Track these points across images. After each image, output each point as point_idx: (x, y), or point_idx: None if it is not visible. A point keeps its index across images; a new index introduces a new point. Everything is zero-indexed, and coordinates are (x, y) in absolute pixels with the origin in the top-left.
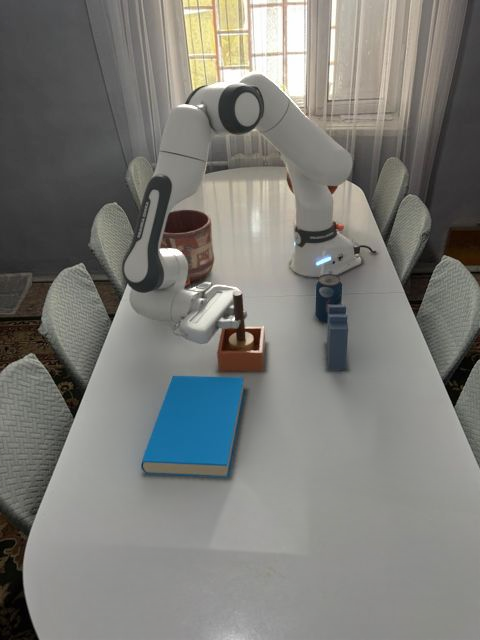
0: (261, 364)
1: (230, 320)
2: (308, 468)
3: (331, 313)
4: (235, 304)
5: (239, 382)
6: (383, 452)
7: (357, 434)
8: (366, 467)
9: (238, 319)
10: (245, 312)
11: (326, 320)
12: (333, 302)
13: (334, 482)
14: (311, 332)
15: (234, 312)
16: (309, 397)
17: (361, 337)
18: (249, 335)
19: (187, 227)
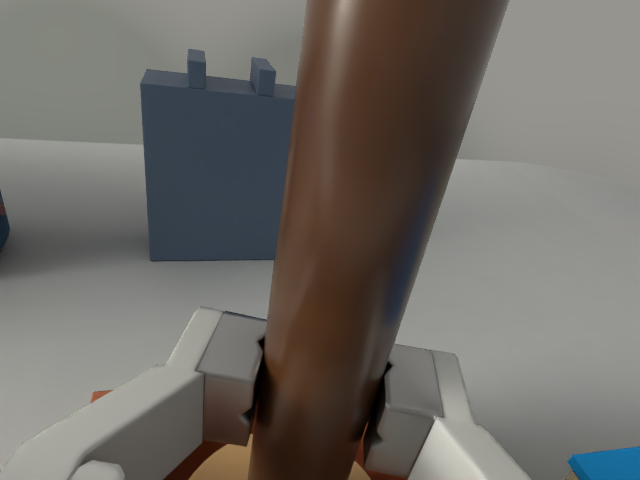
0: None
1: (470, 428)
2: (630, 291)
3: (210, 88)
4: (453, 163)
5: (621, 467)
6: (492, 210)
7: (479, 230)
8: (541, 227)
9: (395, 348)
10: (223, 311)
11: (2, 239)
12: None
13: (613, 259)
14: (46, 298)
15: (390, 330)
16: (425, 295)
17: (120, 201)
18: (226, 469)
19: None
